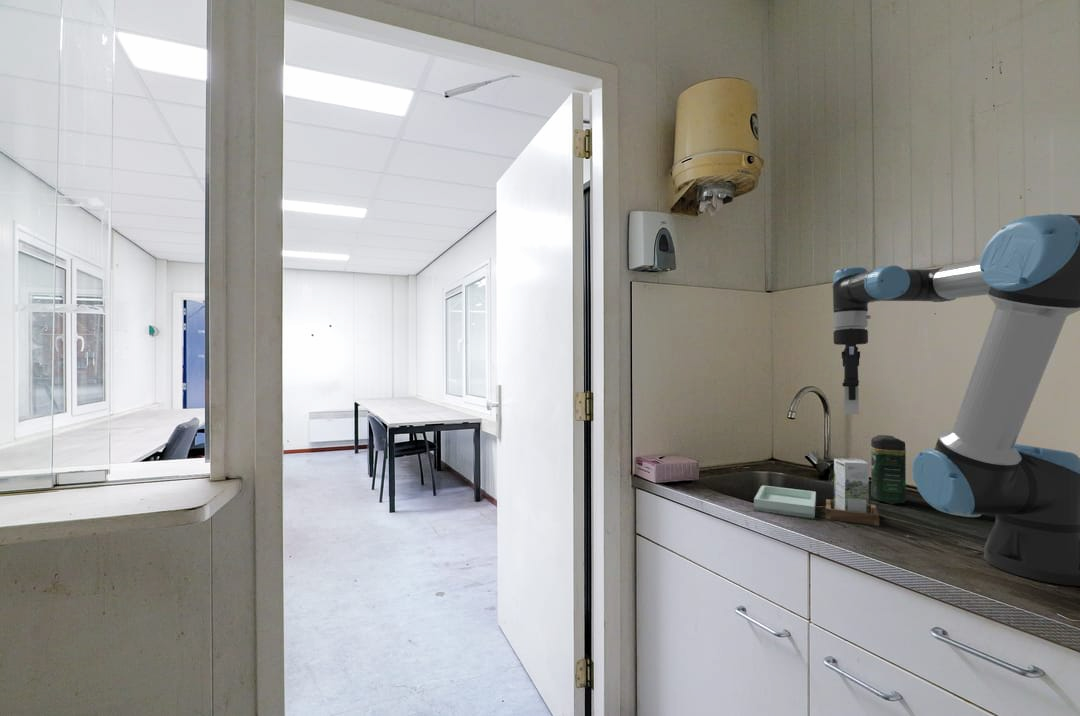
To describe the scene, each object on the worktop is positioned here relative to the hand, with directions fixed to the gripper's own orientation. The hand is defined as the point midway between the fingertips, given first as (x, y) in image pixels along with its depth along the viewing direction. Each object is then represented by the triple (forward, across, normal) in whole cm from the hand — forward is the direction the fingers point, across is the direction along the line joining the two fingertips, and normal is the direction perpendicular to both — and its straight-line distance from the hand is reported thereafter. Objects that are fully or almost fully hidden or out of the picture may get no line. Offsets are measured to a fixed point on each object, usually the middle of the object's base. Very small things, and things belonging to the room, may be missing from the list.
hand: (851, 411), depth 126 cm
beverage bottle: (+27, +19, -25) cm, 41 cm away
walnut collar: (+27, 0, 0) cm, 27 cm away
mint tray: (+27, +2, +15) cm, 31 cm away
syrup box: (+27, 0, 0) cm, 27 cm away
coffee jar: (+27, +25, -10) cm, 38 cm away
